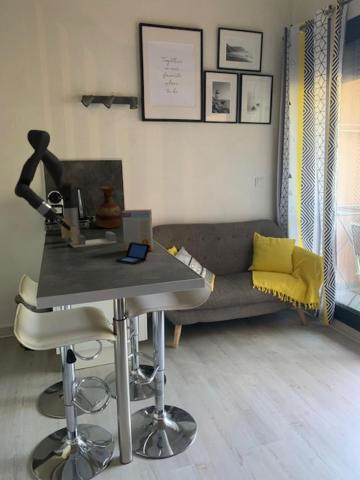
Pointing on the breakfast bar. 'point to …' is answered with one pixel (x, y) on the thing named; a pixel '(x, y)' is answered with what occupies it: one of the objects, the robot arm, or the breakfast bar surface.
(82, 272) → the breakfast bar surface
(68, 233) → the brass block
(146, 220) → the cracker box
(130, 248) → the handheld game console
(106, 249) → the breakfast bar surface
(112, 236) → the vise
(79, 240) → the sliding jaw
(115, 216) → the brown vase
